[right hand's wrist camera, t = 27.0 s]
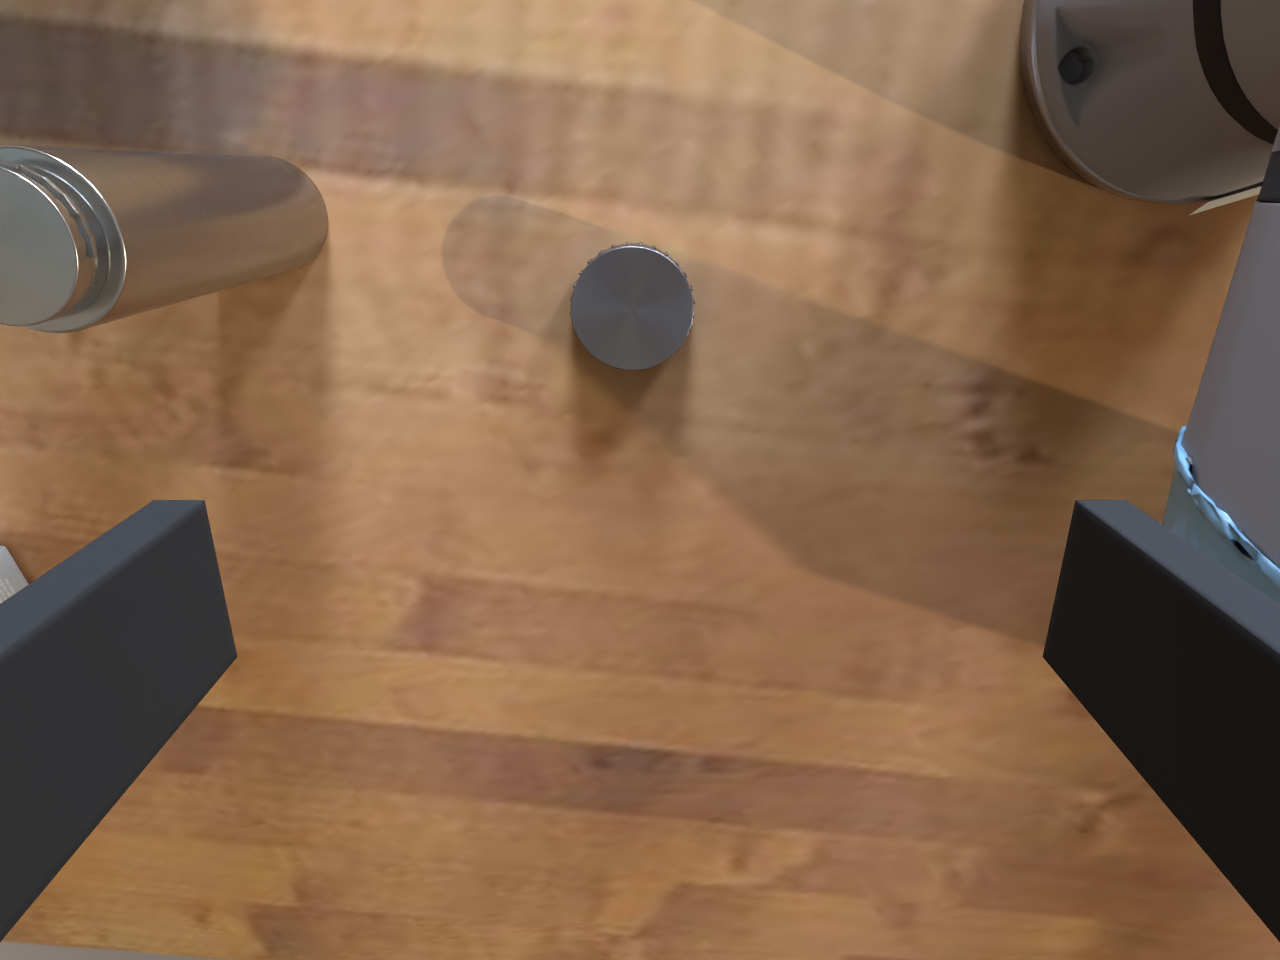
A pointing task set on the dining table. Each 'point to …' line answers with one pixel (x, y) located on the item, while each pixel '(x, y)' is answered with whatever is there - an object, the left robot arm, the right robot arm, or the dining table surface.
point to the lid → (632, 306)
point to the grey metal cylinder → (143, 230)
